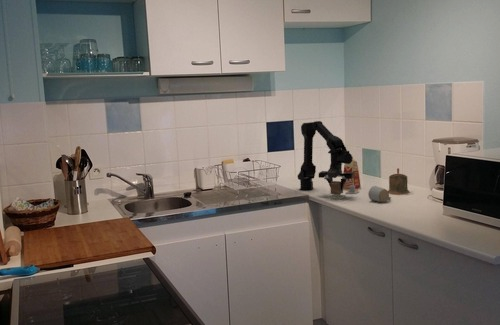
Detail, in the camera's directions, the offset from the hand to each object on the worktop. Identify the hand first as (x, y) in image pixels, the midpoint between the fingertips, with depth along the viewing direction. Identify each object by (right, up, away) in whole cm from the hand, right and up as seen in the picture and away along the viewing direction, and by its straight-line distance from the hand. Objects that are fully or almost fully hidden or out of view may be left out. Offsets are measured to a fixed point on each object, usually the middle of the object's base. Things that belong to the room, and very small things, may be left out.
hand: (336, 190), depth 279 cm
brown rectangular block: (0, -2, 0) cm, 2 cm away
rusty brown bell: (+35, -1, +6) cm, 36 cm away
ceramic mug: (+20, -5, -14) cm, 25 cm away
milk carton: (+11, 0, +19) cm, 22 cm away
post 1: (0, -3, +1) cm, 4 cm away
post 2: (+10, -2, +8) cm, 13 cm away
